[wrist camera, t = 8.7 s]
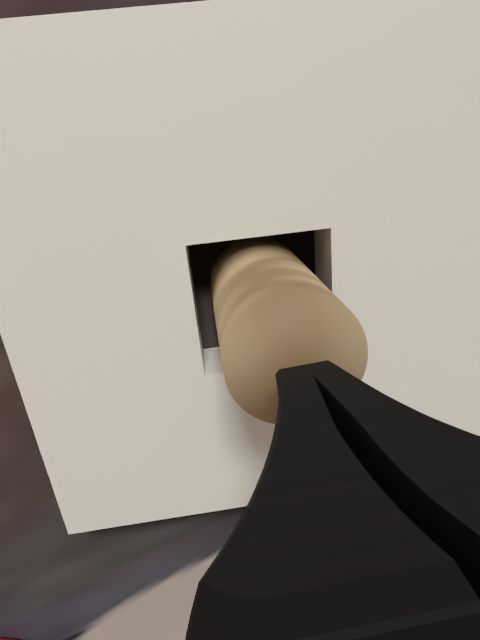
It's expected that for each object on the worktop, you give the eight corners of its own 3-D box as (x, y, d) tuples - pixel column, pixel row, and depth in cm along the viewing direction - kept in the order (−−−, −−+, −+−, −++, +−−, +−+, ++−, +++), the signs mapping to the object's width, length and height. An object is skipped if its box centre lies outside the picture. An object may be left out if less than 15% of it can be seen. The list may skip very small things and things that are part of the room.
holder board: (500, -6, 16) (552, -31, 14) (453, 437, 24) (481, 469, 22) (-59, 45, 15) (-103, 28, 13) (80, 494, 23) (68, 534, 20)
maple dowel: (297, 229, 19) (368, 282, 11) (302, 316, 20) (367, 413, 13) (204, 241, 18) (214, 304, 11) (216, 328, 20) (231, 434, 13)
